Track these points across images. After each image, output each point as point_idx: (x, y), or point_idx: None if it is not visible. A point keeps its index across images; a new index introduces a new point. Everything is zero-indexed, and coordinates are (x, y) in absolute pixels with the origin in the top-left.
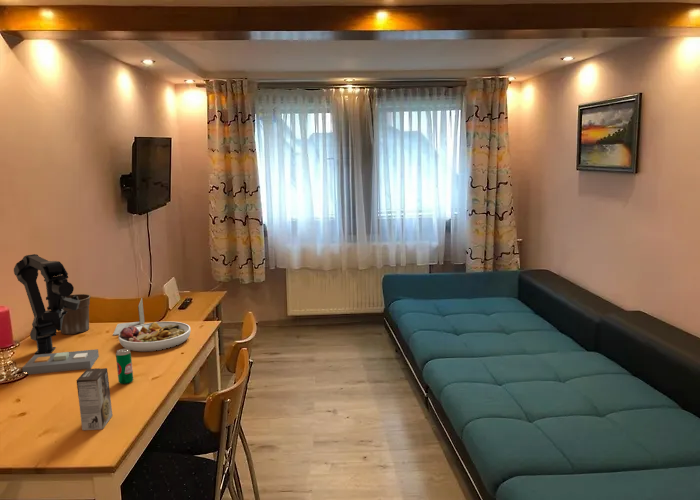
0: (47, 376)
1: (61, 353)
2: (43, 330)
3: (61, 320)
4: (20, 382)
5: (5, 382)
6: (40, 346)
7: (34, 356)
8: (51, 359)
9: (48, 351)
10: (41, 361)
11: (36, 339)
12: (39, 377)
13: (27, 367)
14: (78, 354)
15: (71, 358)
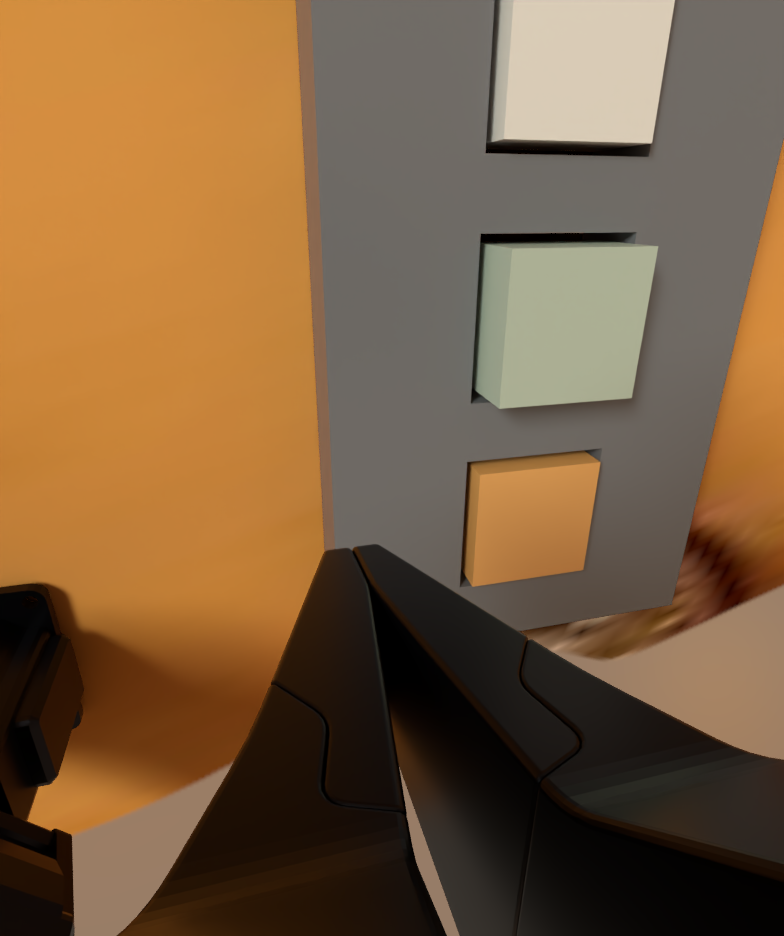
0: (754, 353)
1: (541, 338)
2: (7, 913)
3: (494, 711)
4: (773, 516)
5: (720, 614)
6: (61, 731)
7: None
8: (557, 426)
9: (26, 622)
10: (586, 505)
11: (64, 845)
12: (743, 415)
13: (676, 565)
14: (548, 87)
15: (621, 175)
